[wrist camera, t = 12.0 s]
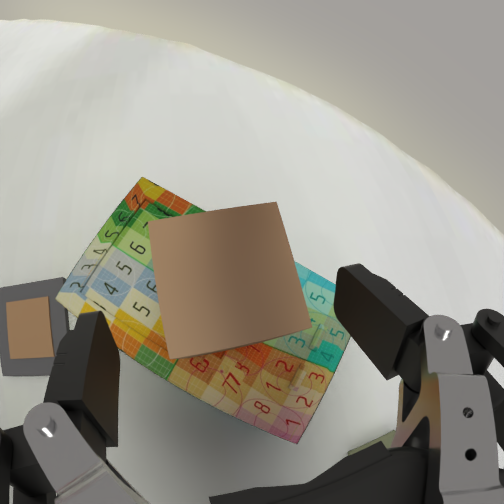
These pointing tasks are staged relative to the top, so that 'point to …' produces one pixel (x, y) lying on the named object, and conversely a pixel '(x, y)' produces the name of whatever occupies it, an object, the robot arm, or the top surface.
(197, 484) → the top surface
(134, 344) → the puzzle game
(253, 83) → the top surface
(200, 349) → the walnut block
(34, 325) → the tile
